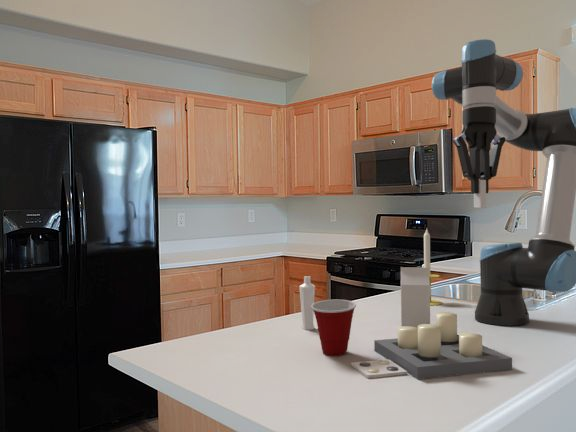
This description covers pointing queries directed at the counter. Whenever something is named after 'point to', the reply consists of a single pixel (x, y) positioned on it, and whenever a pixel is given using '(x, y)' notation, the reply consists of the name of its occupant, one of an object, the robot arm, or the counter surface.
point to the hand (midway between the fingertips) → (479, 207)
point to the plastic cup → (334, 324)
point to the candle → (427, 264)
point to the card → (378, 368)
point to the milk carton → (415, 296)
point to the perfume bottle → (307, 303)
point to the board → (442, 360)
